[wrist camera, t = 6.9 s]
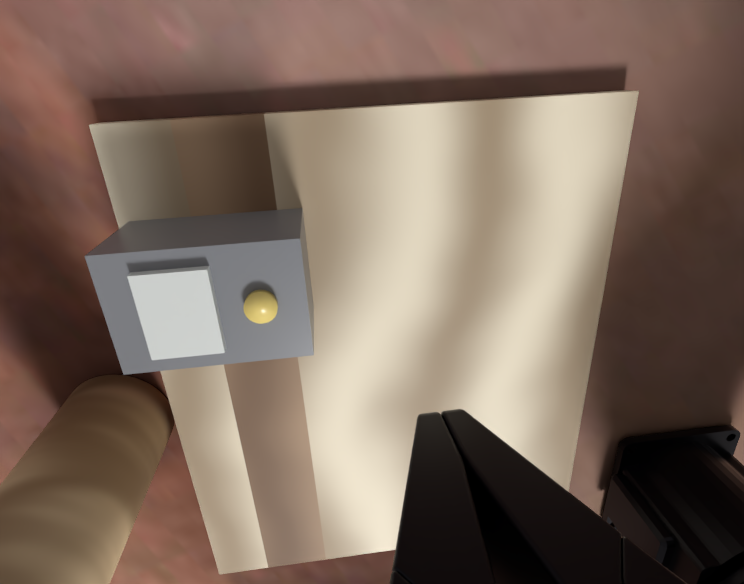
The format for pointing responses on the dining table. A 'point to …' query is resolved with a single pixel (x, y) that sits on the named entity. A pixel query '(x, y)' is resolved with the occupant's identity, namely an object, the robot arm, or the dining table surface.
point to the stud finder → (206, 290)
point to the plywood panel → (387, 297)
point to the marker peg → (83, 484)
